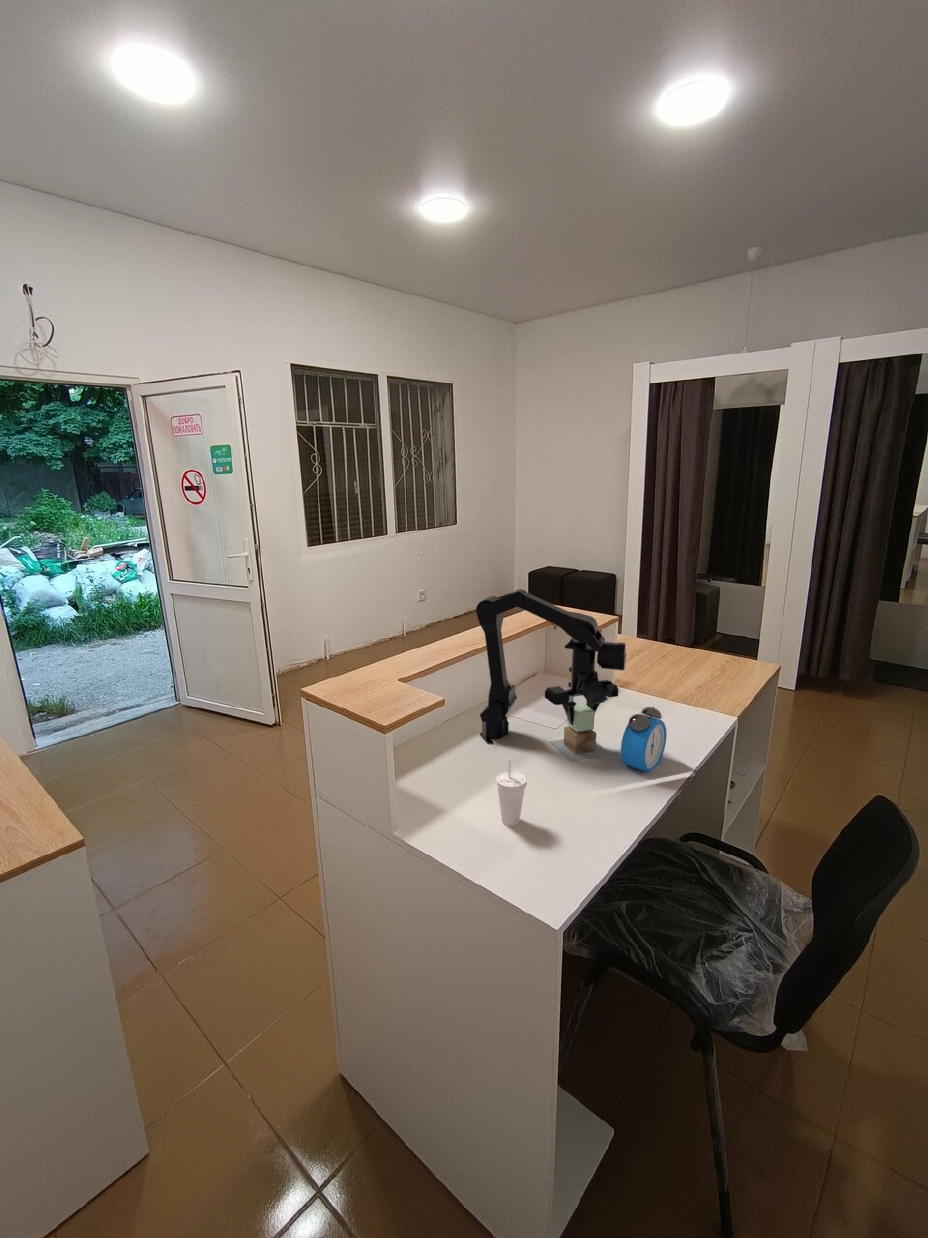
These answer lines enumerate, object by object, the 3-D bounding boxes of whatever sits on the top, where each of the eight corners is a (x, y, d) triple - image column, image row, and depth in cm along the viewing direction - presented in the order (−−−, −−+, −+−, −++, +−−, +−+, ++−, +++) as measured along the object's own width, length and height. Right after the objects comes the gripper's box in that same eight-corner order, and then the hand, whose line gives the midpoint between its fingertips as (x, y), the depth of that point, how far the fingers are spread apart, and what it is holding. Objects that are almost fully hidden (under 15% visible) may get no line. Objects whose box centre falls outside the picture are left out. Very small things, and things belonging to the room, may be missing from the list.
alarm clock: (641, 781, 133) (646, 722, 130) (617, 773, 137) (621, 715, 134) (665, 762, 143) (669, 706, 139) (642, 754, 147) (646, 700, 143)
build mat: (570, 765, 141) (570, 761, 141) (548, 744, 152) (548, 741, 152) (611, 757, 145) (611, 754, 145) (586, 738, 156) (587, 735, 156)
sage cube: (576, 731, 144) (577, 713, 143) (567, 724, 148) (567, 706, 147) (593, 729, 146) (594, 711, 144) (583, 721, 150) (584, 704, 149)
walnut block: (575, 754, 145) (576, 736, 144) (563, 744, 150) (564, 727, 149) (595, 750, 147) (596, 733, 145) (583, 741, 152) (584, 724, 151)
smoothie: (506, 808, 122) (507, 749, 119) (531, 819, 118) (533, 758, 115) (489, 822, 117) (489, 760, 114) (514, 833, 113) (515, 770, 110)
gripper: (566, 680, 133) (564, 741, 136) (633, 671, 139) (629, 730, 142) (544, 666, 143) (542, 723, 147) (607, 658, 149) (604, 713, 153)
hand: (580, 722), depth 147 cm, fingers closed on sage cube, 5 cm apart
